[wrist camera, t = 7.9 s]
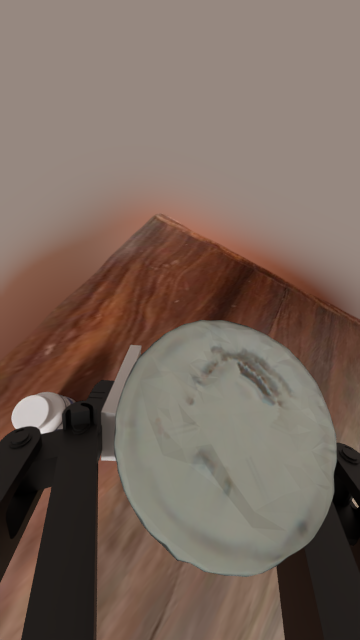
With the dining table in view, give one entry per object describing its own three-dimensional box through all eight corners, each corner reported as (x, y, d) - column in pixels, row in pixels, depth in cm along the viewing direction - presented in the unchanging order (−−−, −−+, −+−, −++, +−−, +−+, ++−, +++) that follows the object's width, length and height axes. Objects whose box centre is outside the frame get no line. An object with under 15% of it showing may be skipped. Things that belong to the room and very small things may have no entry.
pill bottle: (36, 429, 32) (-7, 432, 23) (54, 393, 34) (20, 383, 26) (70, 438, 32) (40, 444, 23) (85, 402, 34) (63, 394, 26)
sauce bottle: (192, 383, 23) (315, 254, 6) (210, 446, 21) (530, 563, 3) (133, 398, 22) (54, 289, 4) (144, 467, 19) (59, 898, 2)
